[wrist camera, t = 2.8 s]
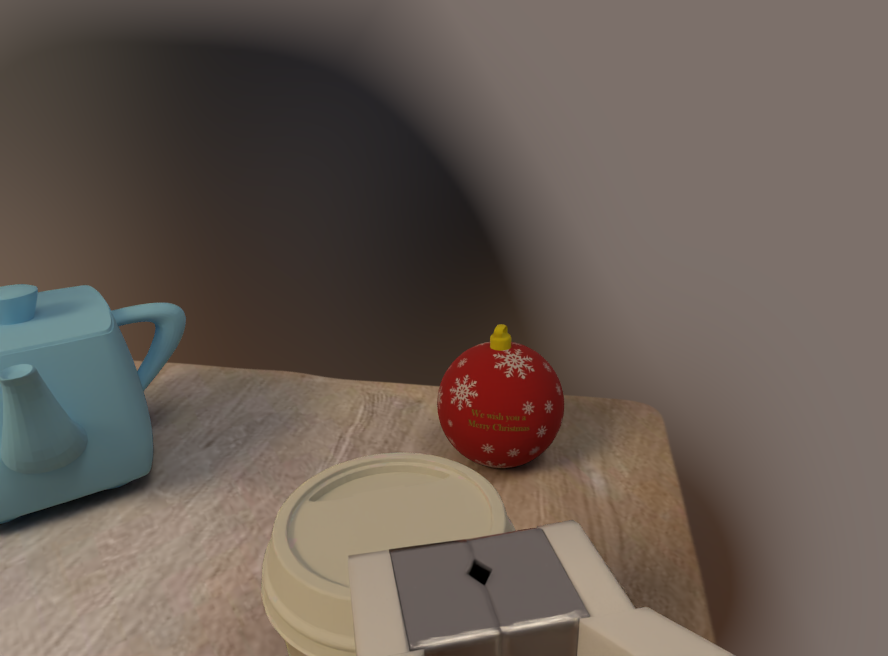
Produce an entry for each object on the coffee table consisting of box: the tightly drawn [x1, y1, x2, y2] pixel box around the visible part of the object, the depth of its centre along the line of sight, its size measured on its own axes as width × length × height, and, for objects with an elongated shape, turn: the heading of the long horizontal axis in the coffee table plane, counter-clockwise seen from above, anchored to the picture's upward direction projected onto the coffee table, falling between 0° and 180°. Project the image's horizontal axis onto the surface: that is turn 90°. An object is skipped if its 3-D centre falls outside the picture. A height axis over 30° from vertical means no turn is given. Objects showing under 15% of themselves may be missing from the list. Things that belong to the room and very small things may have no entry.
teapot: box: [0, 284, 186, 524], centre depth 42 cm, size 18×16×14 cm
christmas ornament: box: [437, 325, 564, 468], centre depth 44 cm, size 9×9×10 cm
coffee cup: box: [261, 453, 515, 656], centre depth 23 cm, size 8×8×12 cm
